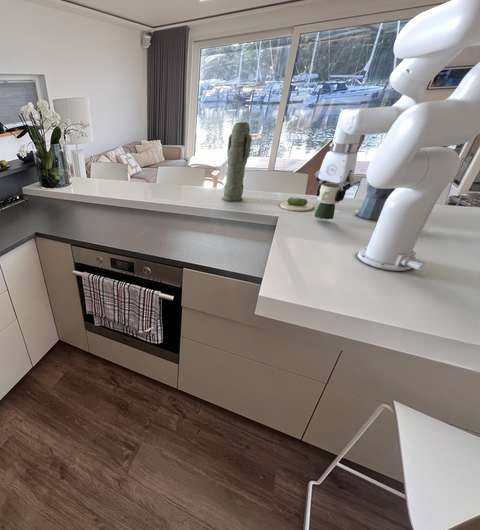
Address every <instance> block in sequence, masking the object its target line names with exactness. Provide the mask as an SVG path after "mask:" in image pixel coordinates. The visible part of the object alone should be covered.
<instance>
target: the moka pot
mask: <svg viewBox="0 0 480 530" xmlns="http://www.w3.org/2000/svg"><path fill="white" fill-rule="evenodd" d="M395 189H396V188H391V189H380V188H375V187H372V186H371V185H370V184H369V183H368V182H367V184H366V193H365V197H364V199H363V201H362V203H361V206H360V207H359V209H358V211H357V213H356V216H357V217H360V218H363V219H366V220H367V219H368V220H377V221H378V219H379V217H380V214H381V212H382V209H383V207H384V204H385V202H386V200H387V198H388V197H389V195H390V194H391V193H392V192H393V191H394V190H395Z"/></svg>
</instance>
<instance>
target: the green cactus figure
mask: <svg viewBox="0 0 480 530" xmlns="http://www.w3.org/2000/svg"><path fill="white" fill-rule="evenodd" d="M250 131H251V129H250V123H248V122H236V123H234V126H233V127H232V130H231V133H230V134H229V136H228V142H227V143H228V144H227V151H226V152H227V154H226V155H227V160H226V161H227V162H226V164H227V171H226V179H225V180H226V182H225V184H224V186H223V187H224V189H223V200H224V201H226V202H230V203H231V202H233V203H235V202H240V201H242V200H243V199H242V197H243V193H244V177H245V171H246V165H247V163H248V159H249V157H250V150H251V145H252V135H251V134H250Z"/></svg>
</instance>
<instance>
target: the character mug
mask: <svg viewBox="0 0 480 530" xmlns="http://www.w3.org/2000/svg"><path fill="white" fill-rule="evenodd" d="M338 190H340V188H339V183H333V182H327V183H324V184H322V185H321V188H320V194H319V196H317V201H318V202H319V204H318V206H317V208H316V211H315V213H314V218H316V219H320V220H333V219H334V216H335V210H336V205H337V204H339V203H340V202H341V201H335V198H336V194H337V191H338Z"/></svg>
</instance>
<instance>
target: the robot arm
mask: <svg viewBox="0 0 480 530" xmlns="http://www.w3.org/2000/svg"><path fill="white" fill-rule="evenodd" d="M476 46H480V0H448V1H446V2H443V3H442V4H439V5H437V6H434V7H432V8H430V9H427V10H425V11H423V12H420V13H419V14H417V15H416V16H415V17H413V18H412V19H411V20H409V21H408V22H407V23H406V24H405V25H404V26H403V28H402V29H401V30H400V32H399V33H398V35H397V36H396V38H395V41H394V44H393V48H392V50H393V54H394V57H396V58H397V59H400V60H402V61H401V62H400V63H399V64H398V65H397V66H396V67H395V68H394V69H393V71H392V72H391V73H390V76H389V85H390V86H391V88H392V89H393V90H394V91H396V92H397V93H399V94H401V95H402V96H401V97H400V98H399V99H398V100H397V101H396V102H395V103H394V104H392V105H391V106H378V107H367V108H365V107H352V108H345V109H342V110H341V112H340V113H339V116H338V120H337V124H336V126H335V131H334V135H333V139H332V142H331V143H330V144H329V145H328V147H329V148H330V149H329V151H327V152H326V153H325V156H324V158H323V160H322V163H321V165H320V169H319V170H318V171H316V172H314V177H315V178H316V179H315V180H316V182H317V185H318V188H317V191H316V197H319V194H320V188H321V185H322V184H324V183H338V184H339V188H340V190H338V191H337V194H336V198H335V201H340V202H341V201H343V200H344V198H345V197H346V192H347V191H349V190H350V189H351V188H352V187H354V186H355V185H357V184H358V183H359V180H358V178H357V176H356V175H355V174H354V173H355V170H356V165H357V161H358V160H357V158H358V153H357V150H358V147H359V143H360V140H361V138H362V136H366V135H379V134H386V135H385V136H384V138H383V140H382V141H381V143H380V145H379V147H378V148H377V150H376V152H375V153H374V155H373V156H372V158H371V160H370V161H369V164H368V166H367V168H366V174H365V176H366V182H367V184H368V183H369V184H370V185H371V186H372V187H375V188H380V189H391V188H396V189H395V190H394V191H393V192H392V193H391V194H390V195H389V197H388V198H387V200H386V202H385V204H384V207H383V209H382V212H381V214H380V217H379V219H378V220H377V222H376V224H375V227H374V230H373V232H372V235H371V237H370V240H369V243H368V245H367V247H366V248H361V249H360V250H359V251H358V253H357V257H358V259H359V260H360V261H362V263H365V264H366V265H369V266H371V267H374V268H377V269H381V270H387V271H395V272H401V271H402V272H403V271H408V270H411V269H414V270H417V271H422V270H423V269H424V268H425V264H426V261H425V260H423V259H420V258H417V257H416V255H417V251H414V249H415V247H416V244H417V242H418V240H419V239H420V236H421V234H422V232H423V230H424V228H425V226H426V224H427V222H428V219H429V217H430V215H431V213H432V211H433V209H434V207H435V205H436V204H437V202H438V199H439V198H440V196H441V194H442V193H443V191H445V189H446V188H447V186H449V184H450V182H451V181H452V180H453V179H454V178H455V176H456V175H457V172H458V171H459V169H460V165H461V157H460V155H459V153H457V151H456V150H454V149H452V148H449V147H451V146H459V145H463V144H467V143H469V142H471V141H473V140H474V139H475V138H477V136H478V135H480V61H479V62H478V63H477V64H475V65H474V66H472V68H470V70H469V71H468V72H467V73H466V74H465V75H464V77H463V78H462V79H461V81H460V83H459V84H458V86H457V87H456V88H455V90H454V91H453V92H452V93H451V94H450V95H449V96H448V97H447V98H446V99H444V100H432V101H425V102H423V100H424V97H425V90H426V86H427V85H428V84H429V83H430V82H431V81H432V80H434V78H435V77H436V76H437V75H439V74H440V72H442V71H443V69H445V68H446V67H447V66H448V65H449V64H450V63H451V62H452V61H454V59H455V58H456V57H457V56H459V55H460V53H462V51H464V50H465V48H467V47H476Z"/></svg>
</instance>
